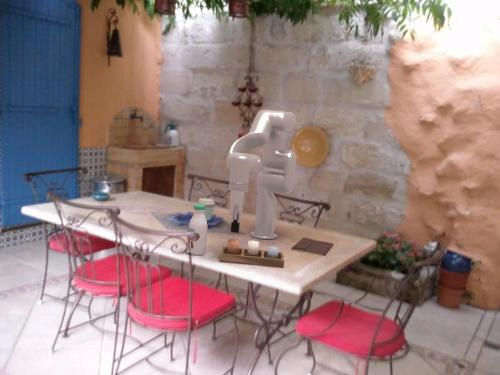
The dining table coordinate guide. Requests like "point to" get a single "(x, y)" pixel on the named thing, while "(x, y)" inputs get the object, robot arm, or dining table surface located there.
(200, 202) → the coffee cup
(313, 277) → the dining table surface
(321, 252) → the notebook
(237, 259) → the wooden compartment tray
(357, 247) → the dining table surface
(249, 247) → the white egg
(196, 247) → the milk bottle
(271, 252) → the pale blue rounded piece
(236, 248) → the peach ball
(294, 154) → the robot arm
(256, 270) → the dining table surface
